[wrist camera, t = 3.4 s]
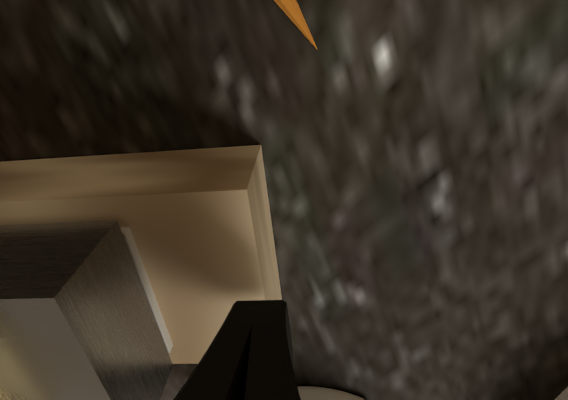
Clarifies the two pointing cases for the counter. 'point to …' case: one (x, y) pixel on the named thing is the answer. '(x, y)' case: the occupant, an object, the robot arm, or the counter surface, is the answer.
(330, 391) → the eye dropper bottle
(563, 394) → the white cube
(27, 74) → the counter surface
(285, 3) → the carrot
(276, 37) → the counter surface
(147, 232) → the body
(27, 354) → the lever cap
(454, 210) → the counter surface
